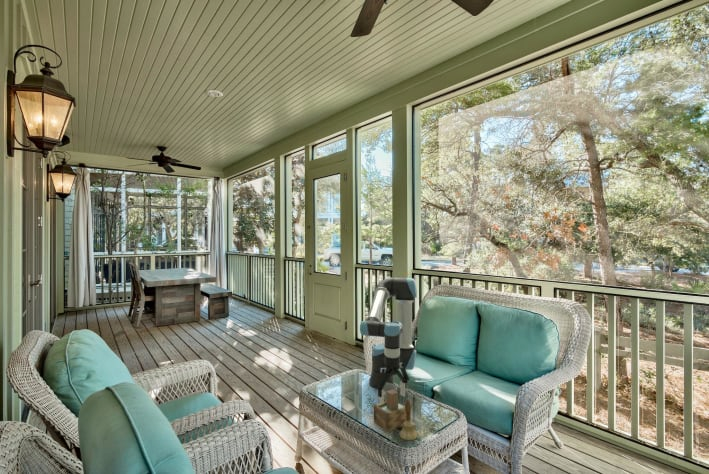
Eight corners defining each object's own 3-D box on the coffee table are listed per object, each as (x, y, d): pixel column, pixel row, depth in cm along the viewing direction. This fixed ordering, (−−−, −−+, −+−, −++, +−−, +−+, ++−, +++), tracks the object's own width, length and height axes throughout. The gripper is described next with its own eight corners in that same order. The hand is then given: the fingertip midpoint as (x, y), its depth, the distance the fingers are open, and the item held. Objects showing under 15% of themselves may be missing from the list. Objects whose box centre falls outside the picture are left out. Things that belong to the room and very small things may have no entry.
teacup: (381, 394, 195) (381, 380, 195) (399, 398, 190) (399, 384, 190) (371, 405, 183) (371, 390, 183) (390, 410, 178) (390, 394, 178)
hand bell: (411, 442, 150) (411, 406, 150) (395, 435, 155) (395, 400, 155) (421, 434, 156) (421, 399, 156) (405, 427, 162) (405, 394, 161)
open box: (395, 412, 175) (395, 397, 175) (410, 422, 166) (410, 406, 166) (373, 421, 167) (373, 405, 167) (388, 431, 158) (388, 415, 158)
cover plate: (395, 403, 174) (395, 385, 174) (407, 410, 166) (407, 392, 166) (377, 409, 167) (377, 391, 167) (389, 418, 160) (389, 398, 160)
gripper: (405, 348, 176) (406, 389, 176) (366, 358, 163) (367, 403, 163) (416, 352, 170) (416, 395, 170) (376, 363, 156) (376, 409, 156)
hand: (392, 399), depth 166 cm, fingers open, 13 cm apart
